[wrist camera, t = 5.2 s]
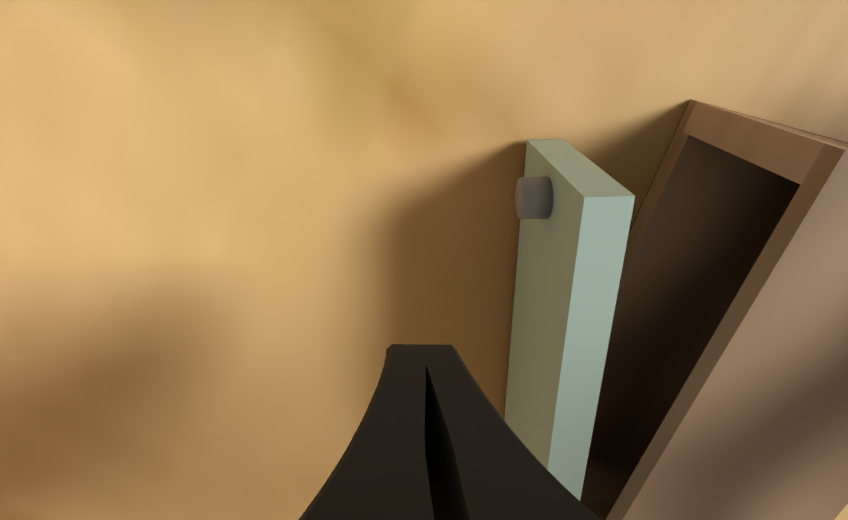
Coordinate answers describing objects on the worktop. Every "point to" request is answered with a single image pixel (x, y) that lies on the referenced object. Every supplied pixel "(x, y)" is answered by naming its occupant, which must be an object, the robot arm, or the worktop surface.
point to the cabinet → (730, 333)
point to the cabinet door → (563, 302)
